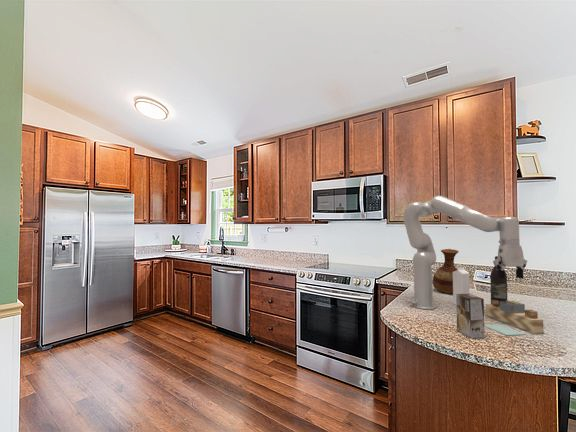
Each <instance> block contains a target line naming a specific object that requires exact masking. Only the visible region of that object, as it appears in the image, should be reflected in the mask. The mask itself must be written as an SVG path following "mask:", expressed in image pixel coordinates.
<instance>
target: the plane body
mask: <svg viewBox="0 0 576 432" xmlns="http://www.w3.org/2000/svg"><path fill="white" fill-rule="evenodd" d="M485 310H486V312H485V317H487V318H491V319H492V320H495V321H498V322H500V323H503V324H505V325H508V326H511V327H513V328H515V329H518V330H520V331H524V332H527V333H528V334H531V335H544V334H545V331H544V319H542V318H538V317H539V316H538V315H539V314H538V311H536V310H533V309H525V313H515V314H511V313H508V312H505V311H502V310H500V306H499V301H497V300H492V304H491V303H486V304H485Z"/></svg>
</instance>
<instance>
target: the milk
mask: <svg viewBox="0 0 576 432" xmlns="http://www.w3.org/2000/svg"><path fill="white" fill-rule="evenodd" d="M456 268H457V270H456V271H454V272H453V294H452V296H453V297H452V300H453V301H452V302H453V303H452V304H453V305H455V306H456V294H470V273H469V271H468V270H465V266H458V267H456Z"/></svg>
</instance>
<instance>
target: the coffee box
mask: <svg viewBox="0 0 576 432" xmlns="http://www.w3.org/2000/svg"><path fill="white" fill-rule="evenodd" d="M484 299H485V298H482V297H479V296H476V295H472V294H456V305H455V306H456V331H457V332H459V333H462V334H463V335H465V336H466V337H469V338H471V339H485V330H486V329H485V326H484V325H485V302H484V301H485V300H484Z"/></svg>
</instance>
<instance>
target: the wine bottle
mask: <svg viewBox="0 0 576 432" xmlns="http://www.w3.org/2000/svg"><path fill="white" fill-rule="evenodd" d="M497 258H498V255H496V256H494V260H496V259H497ZM498 265H499V264H498ZM503 271H505V279H500V278H498V270H497V269H496V267H495V265H494V266H493V268H492V269H491V272H490V278H489V279H490V280H489V281H490V304H492V300H497V301H499V306H500V301H509V300H508V275H507V272H506V270H505V269H504V270H503Z"/></svg>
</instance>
